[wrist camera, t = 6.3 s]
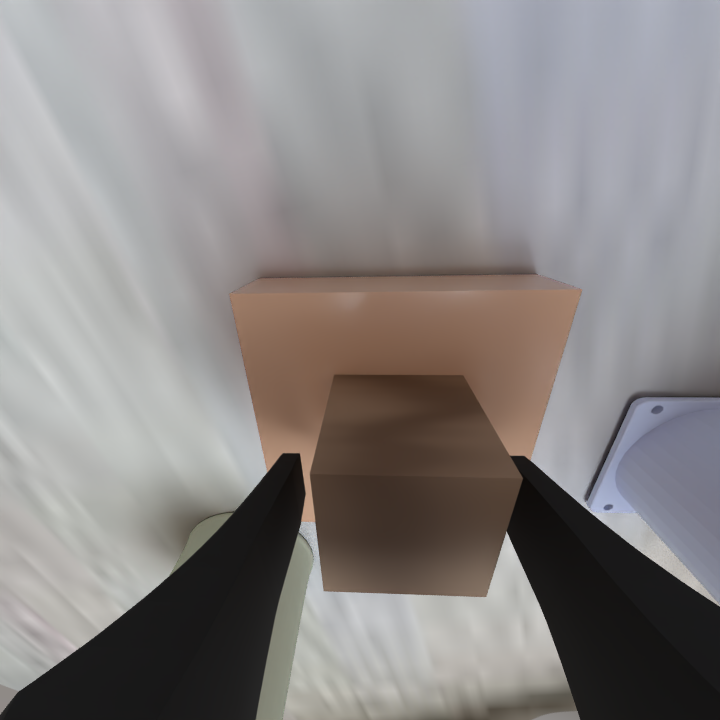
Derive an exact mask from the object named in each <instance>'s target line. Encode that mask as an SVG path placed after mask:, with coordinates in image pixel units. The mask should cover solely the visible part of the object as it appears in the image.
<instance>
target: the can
mask: <svg viewBox="0 0 720 720" xmlns="http://www.w3.org/2000/svg"><path fill="white" fill-rule="evenodd" d="M232 514H233V513H224V514H220V515H216V516H212V517H210V518H208V519H206V520H204V521H202V522H201V523H199V524H198V525H197V526H196V527H195V528H194V529H193V530H192V532H191V534H190V536H189V538H188V542H187V544H186V546H185V548H184V550H183V552H182V554H181V556H180V558H179V560H178V561H177V563H176V565H175V567H174V569H173V570H172V572H171V574H172V573H173V572H175V571H176V570H177V569H178V568H179V567H180V566H181V565H182V564H183V563H185V562H186V561H187V560H188V559H189V558H190V557H191V556H192V555H193V554H194V553H195V552H196V551H197V550H198V549H199V548H200V547H201V546H202V545H203V544H204V543H205V542H206V541H207V540H208V539H209V538H210V537H211V536H212V535H213V534H214V533H215V532H216V531H217V530H218V529H219V528H220V527H221V526H222V525H223V524H224V523H225V522H226V520H227V519H228V518H229V517H230V516H231V515H232ZM312 567H313V554H312V551H311V549H310V547H309V545H308V543H307V542H306V541H305V539H304V538H303V537H302V536H301V535H300V534H299V533H298V535H297V539H296V543H295V546H294V550H293V553H292V557H291V560H290V564H289V567H288V571H287V574H286V578H285V581H284V585H283V588H282V592H281V595H280V599H279V603H278V607H277V612H276V616H275V621H274V626H273V631H272V636H271V641H270V646H269V651H268V656H267V661H266V667H265V672H264V677H263V683H262V688H261V693H260V699H259V704H258V710H257V716H256V720H283V714H284V709H285V703H286V698H287V692H288V686H289V681H290V675H291V670H292V664H293V658H294V653H295V647H296V642H297V636H298V631H299V625H300V620H301V615H302V609H303V604H304V599H305V594H306V589H307V584H308V579H309V575H310V573H311V570H312ZM171 574H170V575H171Z"/></svg>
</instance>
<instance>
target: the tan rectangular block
mask: <svg viewBox="0 0 720 720" xmlns="http://www.w3.org/2000/svg"><path fill="white" fill-rule="evenodd" d="M581 292H582V289H580V288H577V287H574V286H571V285H568V284H565V283H562V282H559V281H556V280H553V279H550V278H547V277H544V276H541V275H538V274H511V275H444V276H377V277H310V278H259V279H257V280H255V281H253V282H251V283H249V284H247V285H245V286H243V287H241V288H239V289H238V290H236V291H234V292H232V293H230V294H229V295H230V300H231V304H232V309H233V314H234V318H235V323H236V328H237V332H238V337H239V342H240V346H241V351H242V356H243V360H244V365H245V370H246V374H247V379H248V384H249V388H250V393H251V398H252V402H253V407H254V412H255V416H256V421H257V426H258V430H259V435H260V440H261V445H262V449H263V454H264V459H265V463H266V468H267V472H268V471H269V470H270V469H271V467H272V466H273V465H274V463H275V462H276V461H277V459H278V458H279V457H280V455H282V454H283V453H300V456H301V463H302V470H303V477H304V484H305V491H306V496H305V502H304V508H303V514H302V520H301V522H315V514H314V506H313V498H312V490H311V481H310V471H311V466H312V462H313V458H314V454H315V450H316V446H317V442H318V438H319V434H320V430H321V426H322V422H323V418H324V414H325V410H326V406H327V402H328V398H329V394H330V389H331V385H332V381H333V377H334V375H463V376H464V378H465V379H466V381H467V383H468V384H469V386H470V388H471V390H472V391H473V393H474V395H475V397H476V398H477V400H478V402H479V403H480V405H481V407H482V409H483V410H484V412H485V414H486V415H487V417H488V419H489V421H490V422H491V424H492V426H493V428H494V429H495V431H496V433H497V434H498V436H499V438H500V440H501V441H502V443H503V445H504V447H505V448H506V450H507V452H508V453H509V455H510V456H525V457H527V458H528V459H529V460H531V456H532V453H533V450H534V446H535V443H536V440H537V437H538V433H539V430H540V427H541V423H542V420H543V417H544V414H545V410H546V407H547V404H548V400H549V397H550V394H551V391H552V387H553V384H554V381H555V377H556V374H557V371H558V368H559V364H560V361H561V358H562V354H563V351H564V348H565V345H566V341H567V338H568V335H569V331H570V328H571V325H572V322H573V318H574V315H575V312H576V308H577V305H578V302H579V299H580V295H581Z"/></svg>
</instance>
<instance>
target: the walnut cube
mask: <svg viewBox="0 0 720 720" xmlns="http://www.w3.org/2000/svg"><path fill="white" fill-rule="evenodd" d="M522 480H523V478H522V476H521V474H520V472H519V471H518V469H517V467H516V466H515V464H514V462H513V460H512V459H511V457H510V455H509V453H508V452H507V450H506V448H505V447H504V445H503V443H502V441H501V440H500V438H499V436H498V434H497V433H496V431H495V429H494V428H493V426H492V424H491V422H490V421H489V419H488V417H487V415H486V414H485V412H484V410H483V409H482V407H481V405H480V403H479V402H478V400H477V398H476V397H475V395H474V393H473V391H472V390H471V388H470V386H469V384H468V383H467V381H466V379H465V378H464V376H463V375H334V377H333V381H332V385H331V389H330V394H329V398H328V402H327V406H326V410H325V414H324V418H323V422H322V426H321V430H320V434H319V438H318V442H317V446H316V450H315V454H314V458H313V462H312V466H311V471H310V481H311V490H312V498H313V506H314V514H315V523H316V531H317V539H318V547H319V556H320V564H321V572H322V580H323V589H324V591H333V592H361V593H388V594H416V595H444V596H471V597H486V596H487V593H488V589H489V586H490V583H491V580H492V576H493V573H494V570H495V567H496V564H497V560H498V557H499V554H500V551H501V547H502V544H503V541H504V538H505V535H506V531H507V528H508V525H509V522H510V518H511V515H512V512H513V509H514V505H515V502H516V499H517V496H518V493H519V489H520V486H521V483H522Z"/></svg>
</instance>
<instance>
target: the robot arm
mask: <svg viewBox="0 0 720 720" xmlns="http://www.w3.org/2000/svg"><path fill="white" fill-rule="evenodd" d="M510 457H511V459H512V460H513V462H514V464H515V466H516V467H517V469H518V471H519V472H520V474H521V476H522V478H523V480H522V483H521V486H520V489H519V493H518V496H517V499H516V502H515V505H514V509H513V512H512V515H511V518H510V522H509V525H508V528H507V533H508V535H509V537H510V540H511V542H512V544H513V547H514V549H515V551H516V553H517V556H518V558H519V560H520V562H521V564H522V567H523V569H524V571H525V573H526V575H527V578H528V580H529V582H530V584H531V587H532V589H533V591H534V593H535V595H536V598H537V600H538V602H539V604H540V607H541V609H542V612H543V614H544V617H545V619H546V621H547V624H548V627H549V630H550V632H551V635H552V638H553V641H554V644H555V646H556V649H557V652H558V655H559V658H560V660H561V663H562V666H563V669H564V672H565V675H566V678H567V681H568V684H569V687H570V690H571V693H572V696H573V699H574V702H575V705H576V708H577V711H578V714H579V717H580V720H720V606H718V605H716V604H715V603H713V602H712V601H710V600H709V599H707V598H706V597H704V596H703V595H701V594H700V593H698V592H697V591H695V590H694V589H692V588H691V587H689V586H688V585H686V584H685V583H683V582H682V581H680V580H679V579H677V578H676V577H675V576H673V575H672V574H670V573H669V572H668V571H666V570H665V569H663V568H662V567H661V566H659V565H658V564H656V563H655V562H654V561H652V560H651V559H649V558H648V557H647V556H645V555H644V554H642V553H641V552H640V551H638V550H637V549H636V548H634V547H633V546H632V545H630V544H629V543H628V542H626V541H625V540H624V539H623V538H621V537H620V536H619V535H618V534H616V533H615V532H614V531H612V530H611V529H610V528H609V527H607V526H606V525H605V524H604V523H602V522H601V521H600V520H599V519H597V518H596V517H595V516H594V515H593V514H591V513H590V512H589V511H588V510H587V509H585V508H584V507H583V506H582V505H581V504H579V503H578V502H577V501H576V500H575V499H574V498H572V497H571V496H570V495H569V494H568V493H567V492H565V491H564V490H563V489H562V488H561V487H560V486H559V485H557V484H556V483H555V482H554V481H553V480H552V479H551V478H549V477H548V476H547V475H546V474H545V473H544V472H543V471H542V470H540V469H539V468H538V467H537V466H536V465H535V464H534V463H532V462H531V461H530V460H529V459H528V458H527V457H525V456H510ZM305 496H306V491H305V484H304V477H303V470H302V463H301V456H300V453H283V454H282V455H280V457H279V458H278V459H277V461H276V462H275V463H274V465H273V466H272V467H271V469H270V470H269V471H268V472H267V474H266V475H265V476H264V477H263V479H262V480H261V481H260V482H259V484H258V485H257V486H256V487H255V489H254V490H253V491H252V492H251V493H250V494H249V496H248V497H247V498H246V499H245V500H244V502H243V503H242V504H241V505H240V506H239V507H238V508H237V510H236V511H235V512H234V513H233V514H232V515H231V516H230V517H229V518H228V519H227V520H226V522H225V523H224V524H223V525H222V526H221V527H220V528H219V529H218V530H217V531H216V532H215V533H214V534H213V535H212V536H211V537H210V538H209V539H208V540H207V541H206V542H205V543H204V544H203V545H202V546H201V547H200V548H199V549H198V550H197V551H196V552H195V553H194V554H193V555H192V556H191V557H190V558H189V559H188V560H187V561H186V562H185V563H183V564H182V565H181V566H180V567H179V568H178V569H177V570H176V571H175V572H173V573H172V574H171V575H170V576H169V577H168V578H167V579H166V580H164V581H163V582H162V583H161V584H160V585H159V586H158V587H156V588H155V589H154V590H153V591H152V592H151V593H149V594H148V595H147V596H146V597H145V598H143V599H142V600H141V601H140V602H138V603H137V604H136V605H135V606H133V607H132V608H131V609H130V610H128V611H127V612H126V613H125V614H123V615H122V616H121V617H120V618H118V619H117V620H116V621H115V622H113V623H112V624H111V625H110V626H108V627H107V628H106V629H105V630H103V631H102V632H101V633H99V634H98V635H97V636H95V637H94V638H93V639H92V640H90V641H89V642H88V643H86V644H85V645H83V646H82V647H81V648H79V649H78V650H76V651H75V652H74V653H72V654H71V655H70V656H68V657H67V658H65V659H64V660H63V661H61V662H60V663H58V664H57V665H56V666H54V667H53V668H52V669H50V670H49V671H47V672H46V673H45V674H43V675H42V676H40V677H39V678H38V679H36V680H35V681H34V682H32V683H31V684H29V685H28V686H26V687H25V688H23V689H22V690H21V691H19V692H18V693H17V694H16V695H15V697H14V698H13V699H12V701H11V702H10V703H9V704H8V706H7V707H6V708H5V710H4V711H3V712H2V713H1V715H0V720H256V716H257V710H258V704H259V699H260V693H261V688H262V683H263V677H264V672H265V667H266V661H267V656H268V651H269V646H270V641H271V636H272V631H273V626H274V621H275V616H276V612H277V607H278V603H279V599H280V595H281V592H282V588H283V585H284V581H285V578H286V574H287V571H288V567H289V564H290V560H291V557H292V553H293V550H294V546H295V543H296V539H297V535H298V532H299V528H300V525H301V520H302V514H303V508H304V502H305ZM587 505H588V507H589V508H590V510H591V511H593V512H610V513H638V514H639V516H640V517H641V518H642V519H643V520H644V521H645V522H646V523H647V524H648V526H649V527H650V528H651V529H652V530H653V531H654V532H655V533H656V534H657V536H658V537H659V538H660V539H661V540H662V541H663V542H664V543H665V544H666V546H667V547H668V548H669V549H670V550H671V551H672V552H673V553H674V554H675V556H676V557H677V558H678V559H679V560H680V561H681V562H682V563H683V564H684V566H685V567H686V568H687V569H688V570H689V571H690V572H691V573H692V574H693V575H694V577H695V578H696V579H697V580H698V581H699V582H700V583H701V584H702V585H703V587H704V588H705V589H706V590H707V591H708V592H709V593H710V594H711V595H712V597H713V598H714V599H715V600H716V601H717V602H718V603H719V604H720V398H702V397H644V398H639V399H637V400H635V401H634V402H633V403H632V404H631V406H630V408H629V410H628V413H627V415H626V417H625V419H624V421H623V424H622V426H621V428H620V430H619V432H618V435H617V437H616V439H615V441H614V443H613V446H612V448H611V450H610V452H609V455H608V457H607V459H606V461H605V463H604V466H603V468H602V470H601V472H600V474H599V477H598V479H597V481H596V483H595V485H594V488H593V490H592V492H591V494H590V497H589V499H588V501H587Z"/></svg>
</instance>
